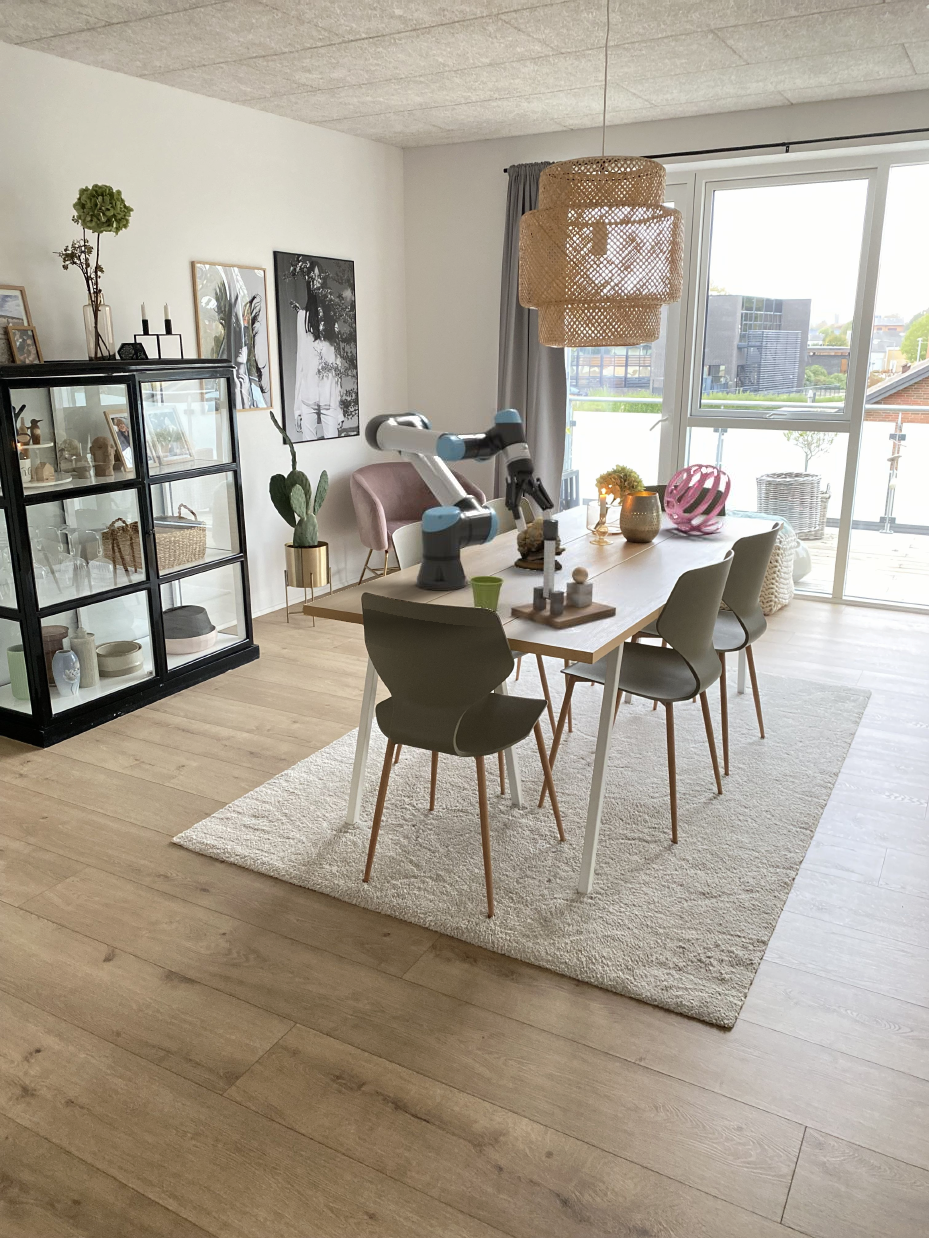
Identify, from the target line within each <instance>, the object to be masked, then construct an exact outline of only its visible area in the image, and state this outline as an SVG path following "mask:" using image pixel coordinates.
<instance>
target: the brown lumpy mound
mask: <svg viewBox="0 0 929 1238" xmlns="http://www.w3.org/2000/svg"><path fill="white" fill-rule="evenodd" d="M526 527H527V529H526V530H524V531H522V532H518V534H517V535H516V545H517V549H516V550H517V551H518V553H519V555H520V557H519V558H517V560H516V561H514V562H513V566H514V565H515V566H516V567H515V566H514V567H515V568H517V567H519V568H518V569H521V568H522V569H521V570H526V569H529V570H528V571H533V570H536V571H535V572H544V544H545V540H542V535H543V517H542V516H538V517H536V518H534V520H533V521H531V523H526ZM559 533H560V532H559V530H558V540H556V541H555V557H559V556H562V554H563V553H564V552H565V551H566V550H567V549H566V547H560V546H561V542H562V540H561V538H560V535H559ZM561 569H563V565H562V564H561V563H560V562H559V560H558V559H555V571H559V570H561Z"/></svg>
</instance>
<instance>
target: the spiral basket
mask: <svg viewBox="0 0 929 1238" xmlns="http://www.w3.org/2000/svg"><path fill="white" fill-rule="evenodd" d="M696 467H697V468H696ZM693 468H695V469H694V470H693ZM708 469H712V471H710V472H708ZM685 474H686V476H685V478H683V479H682V481H681V482H680V483H679V484H678V485H677V487H676V488H675V485H676V484H677V482H678V481H679V480H680V479H681V478H682V476H684V475H685ZM697 474H700V475H699V479H698V480H696V481H695V482H694V483H693V484H692V485H691V482H692V480H693V478H694V476H696V475H697ZM721 475H723V476H724V477H725V486H724V490H723V493H722V495H721V496H720V499H719V501H718V502H717V504H716V506H715V507H714V508H713V509H712V510H711V512H710V513H709V514H708V515H707V516H706V517H705V518H704V519H703V520H702V521H700V522H699V523H697V524H694V523H693V521H694V520H695V519H696V518H697V517H699V516H700V515H701V514H702V513H703V512H704V511H705V510H706V508H707V507H708V506H709V505H710V504H711V502H712V500H713V499H714V497H715V496H716V495H717V491H718V489H719V487H720V484H721ZM712 478H713V481H712V485H711V487H710V490H709V491H708V493H707V494H706V496H705V498H704V499H703V500H702V501H701V503H700V504H699V505H698V506H697V507H696V509H694V510H693V511H692V512H691V513H690V514H688V515H685V513H684V510H685V509H687V508H688V507H690V505H691V504H692V503H693V502H694V501H695V500H696V499H697V498H698V496H699V495H700V493H701V491H702V490H703V488H704V486H705V484H706V482H707V481H708V480H710V479H712ZM730 478H731V477H730V476H729V475H728V474H727V473H726V472H725V471H723V470H720V469H719V468H718V467H717V466H715V465H712V464H702V463H695V464H692V465H689V466H688V467H684V468H682V469H680V470H679V471H678V472H676V473H675V474H674V475H673V476H672V477H671V479H670V480H669V482H668V483H667V485H666V488H665V492H664V497H663V498H664V499H663V506H664V510H665V512H666V515H667V517H668V519H669V521H670V522H671V523H672V524H673V525H676V527H677V528H678V529H679V530H680V531H682V532H683V533H699V534H704V535H705V534H706V535H707V534H708V535H709V534H713V533H716V532H718V531H719V530H721V528H722V527H723V525H724V522H721V523H720V521H718V520H717V521H715V522H712V523H710V522H711V521H713V519H714V518H715V517H716V516H717V515H718V514H719V512H720V511H721V510H722V508H723V507H724V505H725V503H726V501H727V499H728V498H729V495H730V492H731V484H732V483H731V479H730ZM690 485H691V486H690ZM689 486H690V487H689ZM688 487H689V489H688ZM686 490H687V491H686ZM685 491H686V493H684V492H685ZM683 493H684V495H683ZM682 495H683V497H682V498H681V501H680V502H679V501H678V498H679V497H680V496H682ZM668 501H669V502H668ZM667 503H668V504H667ZM719 523H720V525H719V526H718V527H716V528H715V529H713V530H704V529H708V528H711V527H713V526H716V525H717V524H719Z"/></svg>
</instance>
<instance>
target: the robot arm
mask: <svg viewBox="0 0 929 1238" xmlns="http://www.w3.org/2000/svg"><path fill="white" fill-rule="evenodd" d="M493 419H494V420H493V423H494V425H493V426H492V427H491V428H489V429H487V430H486V431H483V432H471V433H453V432H445V431H440V430H431V429H432V426H431V424H430V421H429V420H428V419H427V418H426V417H425V416H424V415H422V414H420V413H417V412H416V413H415V412H411V411H410V412H405V413H404V412H403V413H387V414H386V413H383V414H378V415H375V416H373V417H372V418H371V419H369V421H368V422H367V424H366V426H365V429H364V437H365V441H366V442H367V445H368V446H370V448H372V449H374V450H376V451H379V452H392V451H395V452H397V453H398V454H399V455H400V457H401V458H402V460H404V461H406V462H409V461H410V463H411V464H412V466H413V467H414V468H415V470H416V471H417V472H418V474H419V475H420V476H419V477H421V478H422V480H423V481H424V483H425V484H426V485H427V487H428V488H429V489H430V491H431V492H432V493H433V495H434V497H435V498H436V499H437V501H438V503H440V505H441V506H436V507H433V508H429V509H426V511H424V513H422V516H421V517H422V518H421V553H422V554H421V555H422V558H421V559H422V560H421V563H420V566H419V570H418V574H417V576H416V585H417V587H418V588H421V589H423V590H424V589H425V590H433V591H452V590H457V589H462V588H465V586H467V578H466V577H467V576H466V573H465V571H464V566H463V563H462V560H461V548H468V547H474V546H482V545H484V544H488V543H490V542H492V541H493V540H494V539H495V538H496V536H497V534H498V531H499V517H498V515H497V512H496V511H495V509H494V508H493V507H491V506H489V505H482V504H481V503H480V501H479V500H478V499H477V497H476V496H474V495H468V493H467V491H465V489H464V487H463V486H462V484H461V483H460V482H459V481H458V480H457V478H456V476H454V474H453V473H452V472H451V470H450V469H449V468H448V466H447V465H446V462H450V463H452V462H457V461H464V460H465V461H467V460H473V461H476V462H477V463H485V462H487V461H490V460H491V459H493V458H494V457H495V456H498V454H500V453H502V454H503V455H502V457H503V459H504V463H505V465H506V470H507V474H508V476H507V477H505V483H506V485H505V487H506V488H505V500H504V506H505V508H507V510H508V512H511V513H512V515H513V519H514V521H515V525H516V530H517V532H518V533H520V532H522V531H524V530H526V529H527V527H526V525H527V523H526V520H525V516H524V513H523V509H522V507H521V506H520V503H521V500H522V497H523V494H527V495H528V496H530V497H531V498H532V499H533V500H534V502H535V503H536V505H538V507H539V508H540V509H541V512H540V513H541V517H542V518H543V520H546V519H553V515H552V512H551V510H552V509H554V508H555V504H554V502H553V501H552V498H551V497H550V496H549V494H548V492H547V491H546V488H545V487H544V484H543V483H542V479H541V477H536V478H534V476H533V473H534V471H535V467H534V465H533V460H532V459H531V454H530V449H529V446H528V441H527V439H526V436H525V431H524V428H523V422H522V419H521V416H520V414H519V411H518V410H516V409H512V408H509V409H503V410H501V411H498V412H497V413H495V414H494V417H493Z"/></svg>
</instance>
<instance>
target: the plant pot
mask: <svg viewBox="0 0 929 1238" xmlns="http://www.w3.org/2000/svg"><path fill="white" fill-rule="evenodd" d="M469 582H470V584H471V585H470V586H471V588H472V595H473V602H474V608H475V607H481V608H488V609H491V610H493V612H496V611H497V610H498V606H499V599H500V592H501V587H502V585H503V583H504V578H501V577H498V576H492V575H479V576H472V577H470V578H469Z"/></svg>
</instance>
